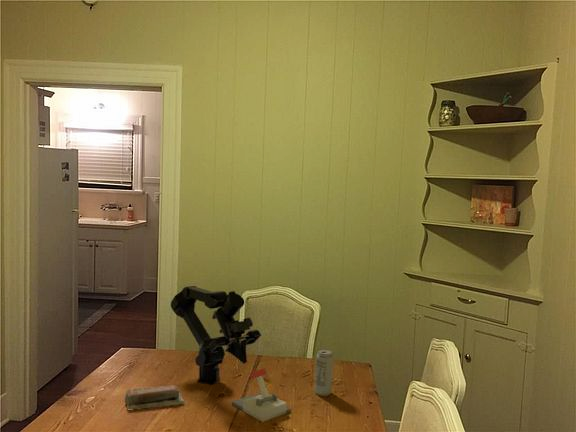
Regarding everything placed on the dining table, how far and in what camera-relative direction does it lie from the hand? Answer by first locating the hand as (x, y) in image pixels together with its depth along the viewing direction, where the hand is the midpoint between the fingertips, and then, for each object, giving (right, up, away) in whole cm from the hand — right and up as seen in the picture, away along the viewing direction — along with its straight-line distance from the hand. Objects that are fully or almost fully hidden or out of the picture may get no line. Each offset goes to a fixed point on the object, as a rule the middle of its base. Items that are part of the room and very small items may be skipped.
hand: (245, 362), depth 178 cm
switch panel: (+5, -14, -4) cm, 15 cm away
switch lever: (+8, -9, -8) cm, 15 cm away
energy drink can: (+27, -14, +10) cm, 32 cm away
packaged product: (-30, -13, -3) cm, 33 cm away
